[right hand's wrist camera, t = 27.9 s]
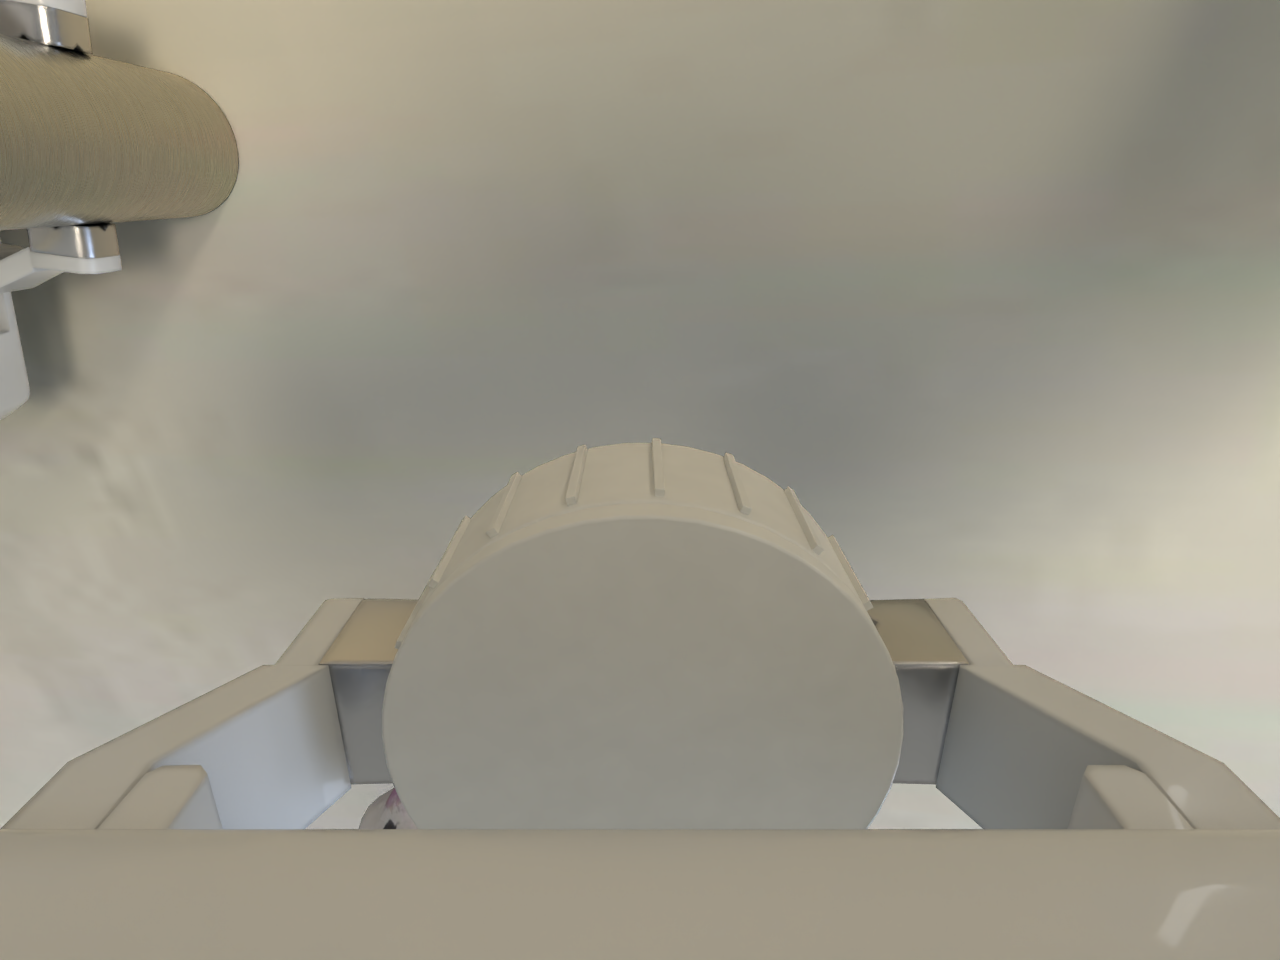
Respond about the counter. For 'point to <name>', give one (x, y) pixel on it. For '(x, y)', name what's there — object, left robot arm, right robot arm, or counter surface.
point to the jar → (105, 141)
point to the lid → (642, 658)
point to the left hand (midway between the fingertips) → (92, 140)
